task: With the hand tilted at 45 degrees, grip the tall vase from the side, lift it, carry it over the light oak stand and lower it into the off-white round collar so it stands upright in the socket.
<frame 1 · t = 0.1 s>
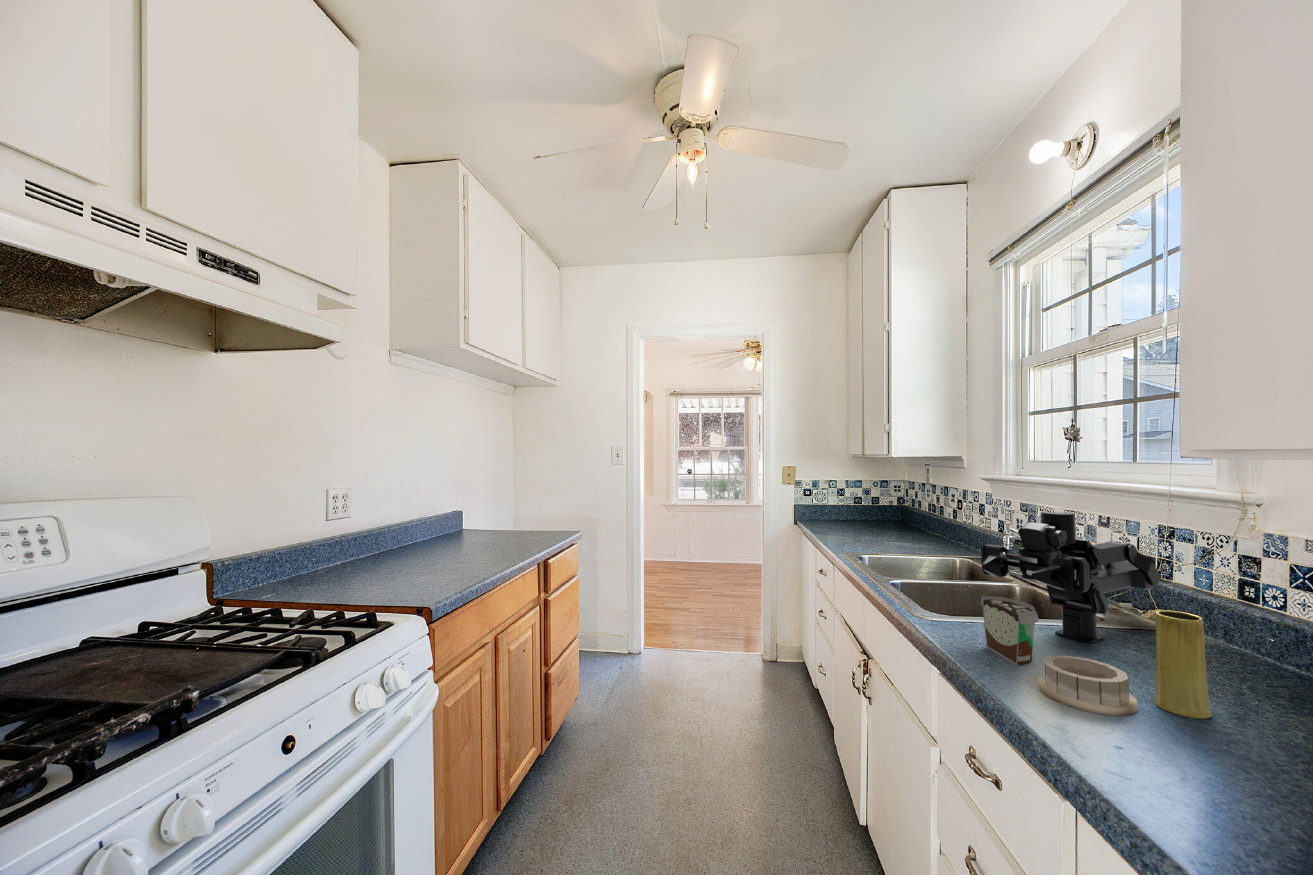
hand: (1006, 571, 100), 17 cm above the countertop, tool horizontal, fingers open, 9 cm apart
vase: (1182, 710, 79), on the countertop
food container: (1017, 656, 101), on the countertop
collar stand: (1085, 696, 84), on the countertop
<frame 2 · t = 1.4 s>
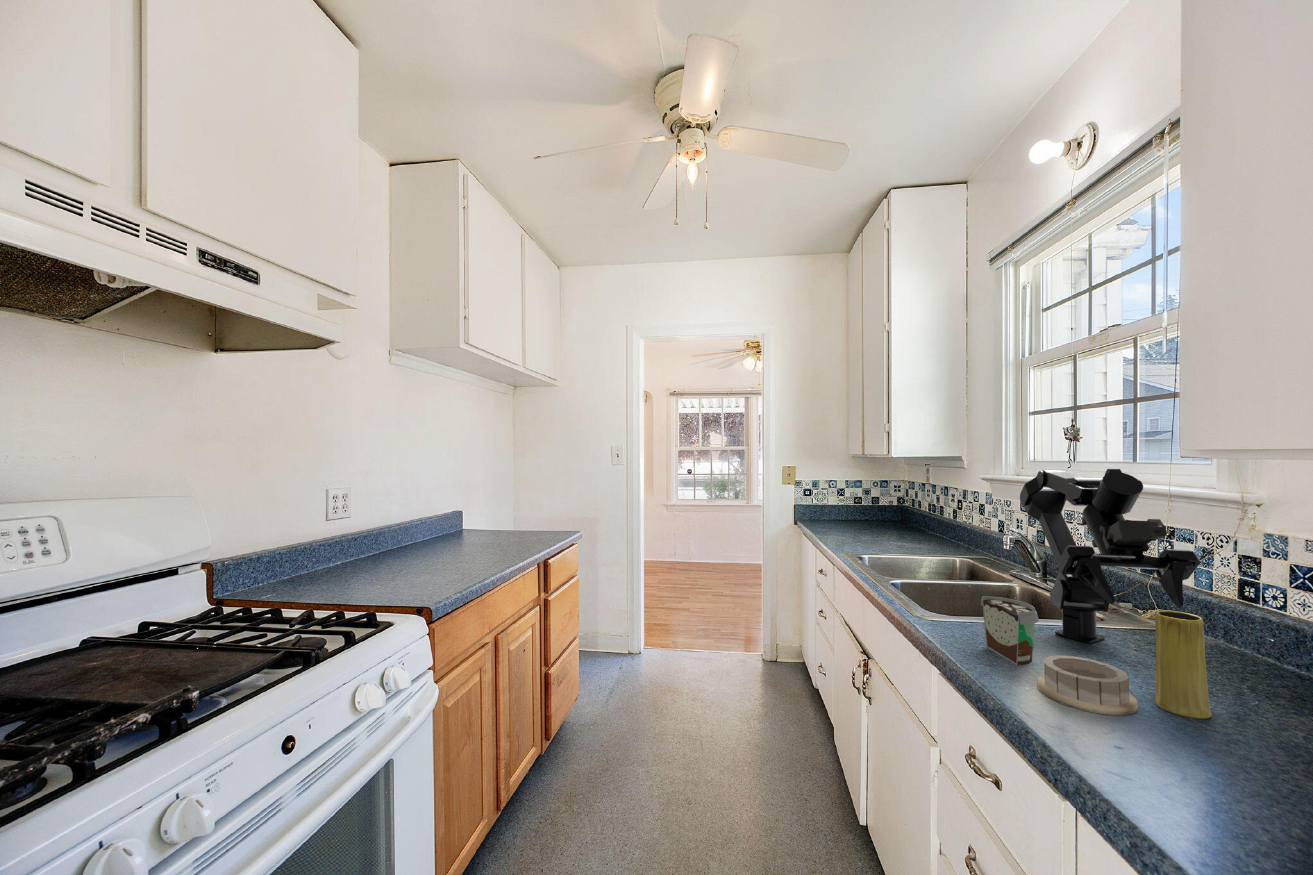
hand: (1146, 604, 88), 14 cm above the countertop, tool tilted 45°, fingers open, 9 cm apart
nothing on the countertop moved.
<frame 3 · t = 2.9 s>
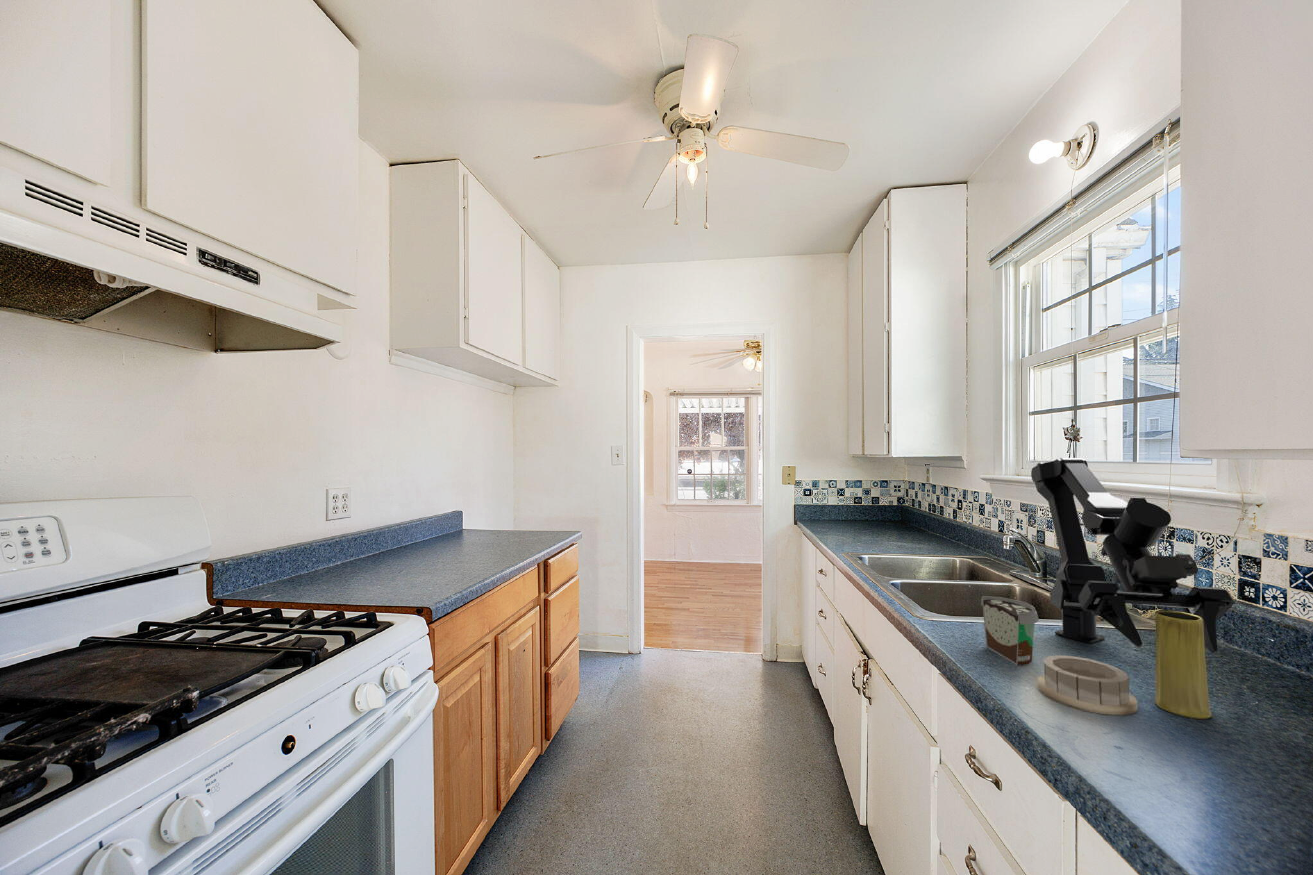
hand: (1176, 648, 81), 9 cm above the countertop, tool tilted 45°, fingers open, 9 cm apart
nothing on the countertop moved.
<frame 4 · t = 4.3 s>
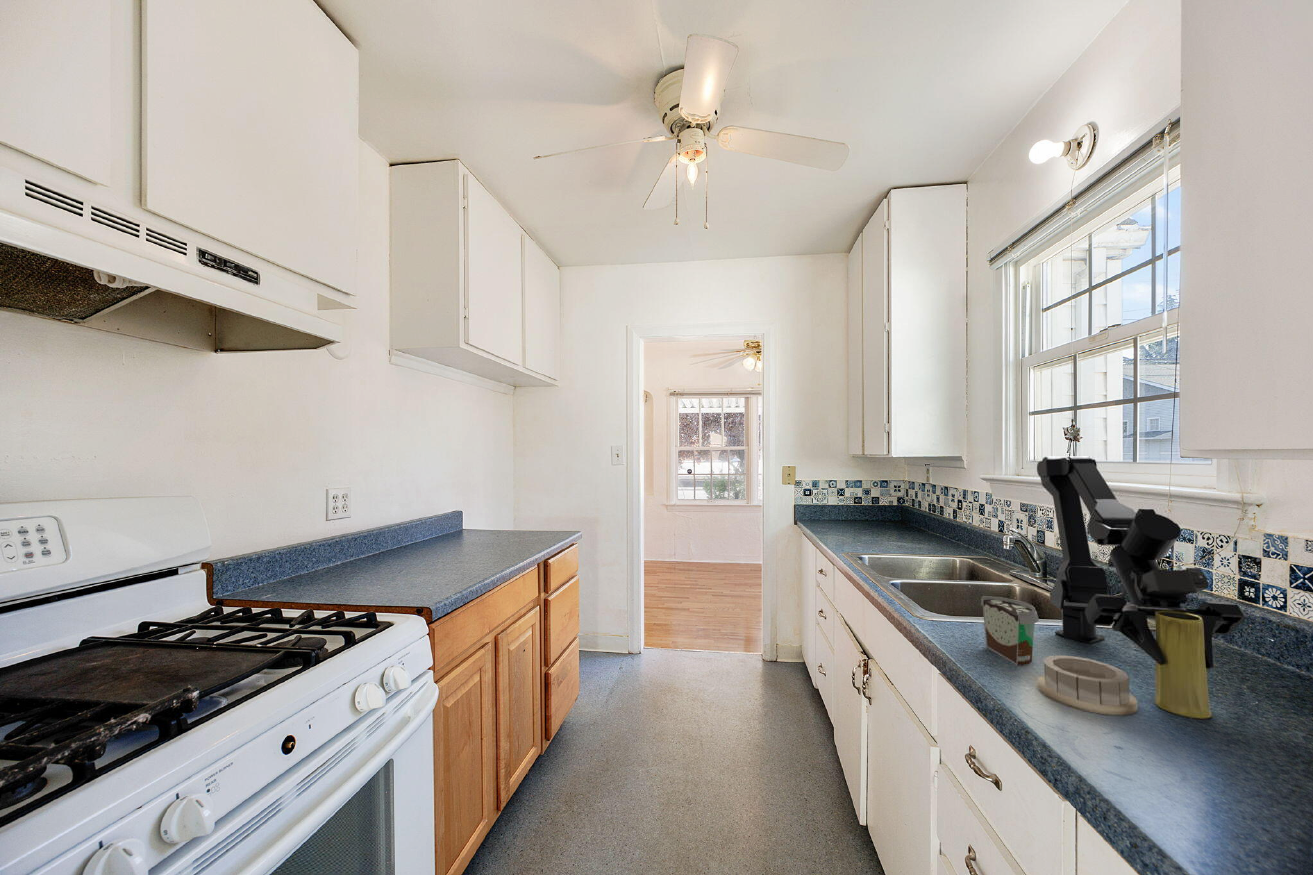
hand: (1186, 665, 78), 7 cm above the countertop, tool tilted 45°, fingers closed on vase, 5 cm apart
vase: (1182, 710, 79), on the countertop, touching gripper
everything else where it was.
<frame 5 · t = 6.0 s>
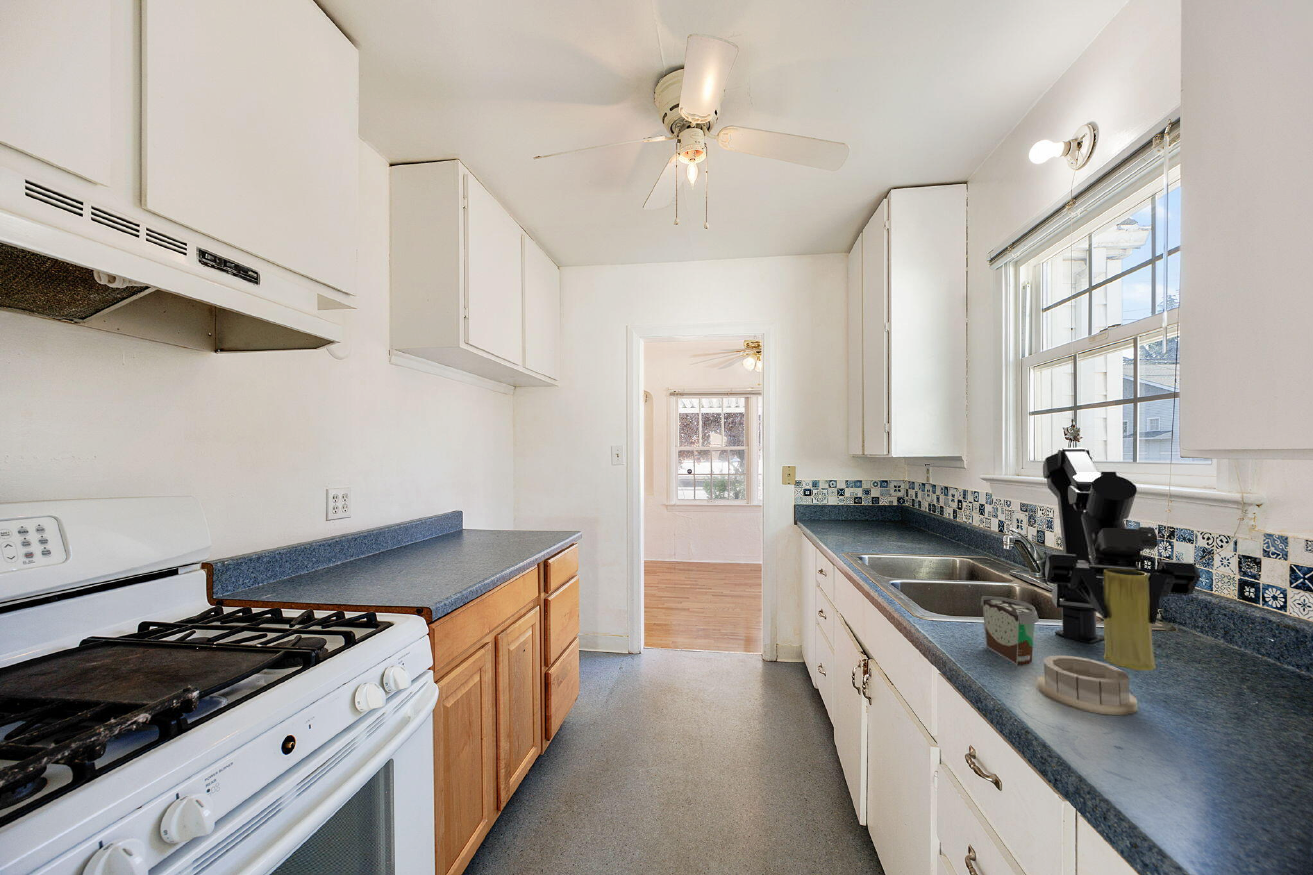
hand: (1129, 619, 81), 13 cm above the countertop, tool tilted 45°, fingers closed on vase, 5 cm apart
vase: (1129, 664, 82), point 6 cm above the countertop, touching gripper
everything else where it was.
when the fingers open (9 cm above the countertop, at t = 7.8 s): vase stays where it is, resting on collar stand.
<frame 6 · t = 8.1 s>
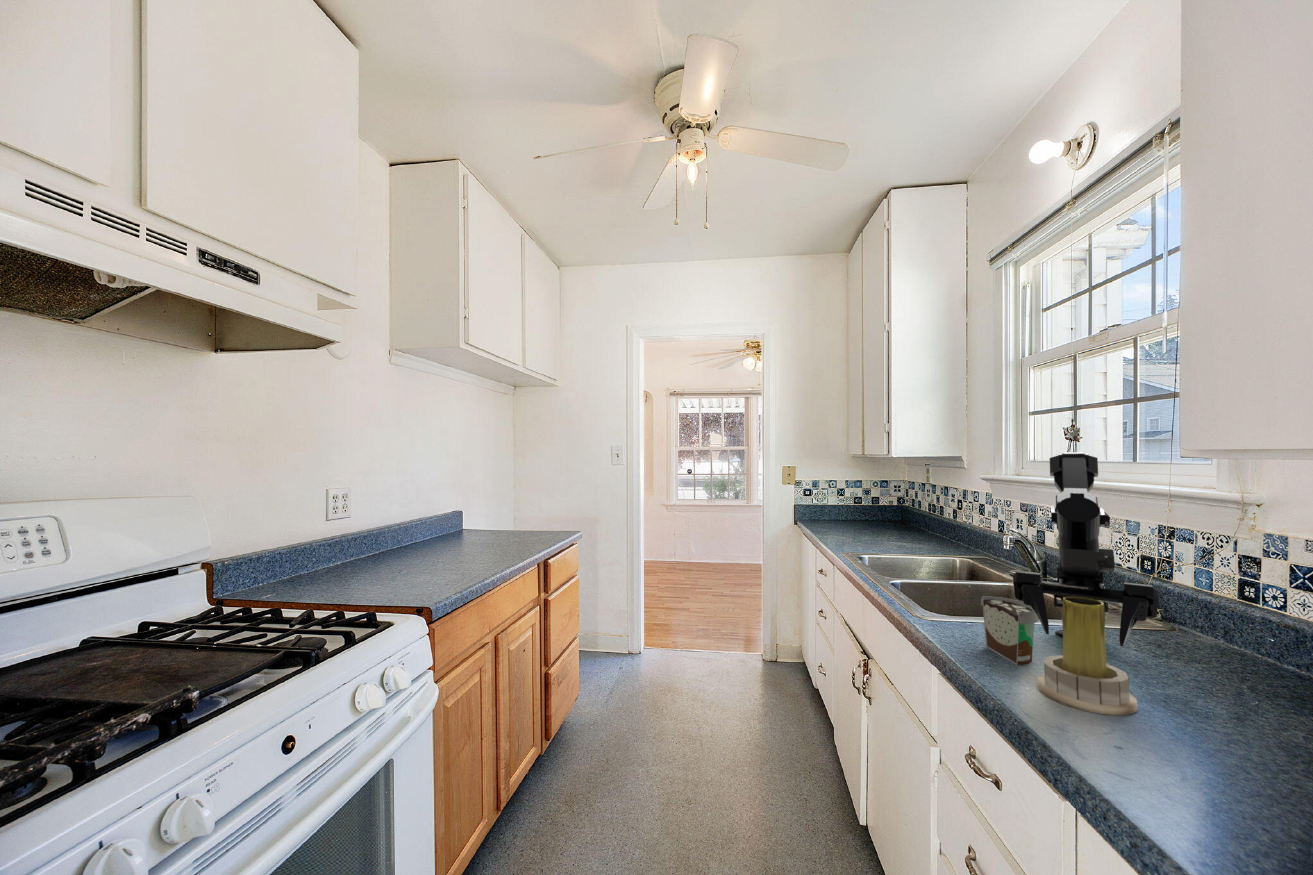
hand: (1083, 638, 83), 10 cm above the countertop, tool tilted 45°, fingers open, 9 cm apart
vase: (1085, 690, 84), point 1 cm above the countertop, touching collar stand
everything else where it was.
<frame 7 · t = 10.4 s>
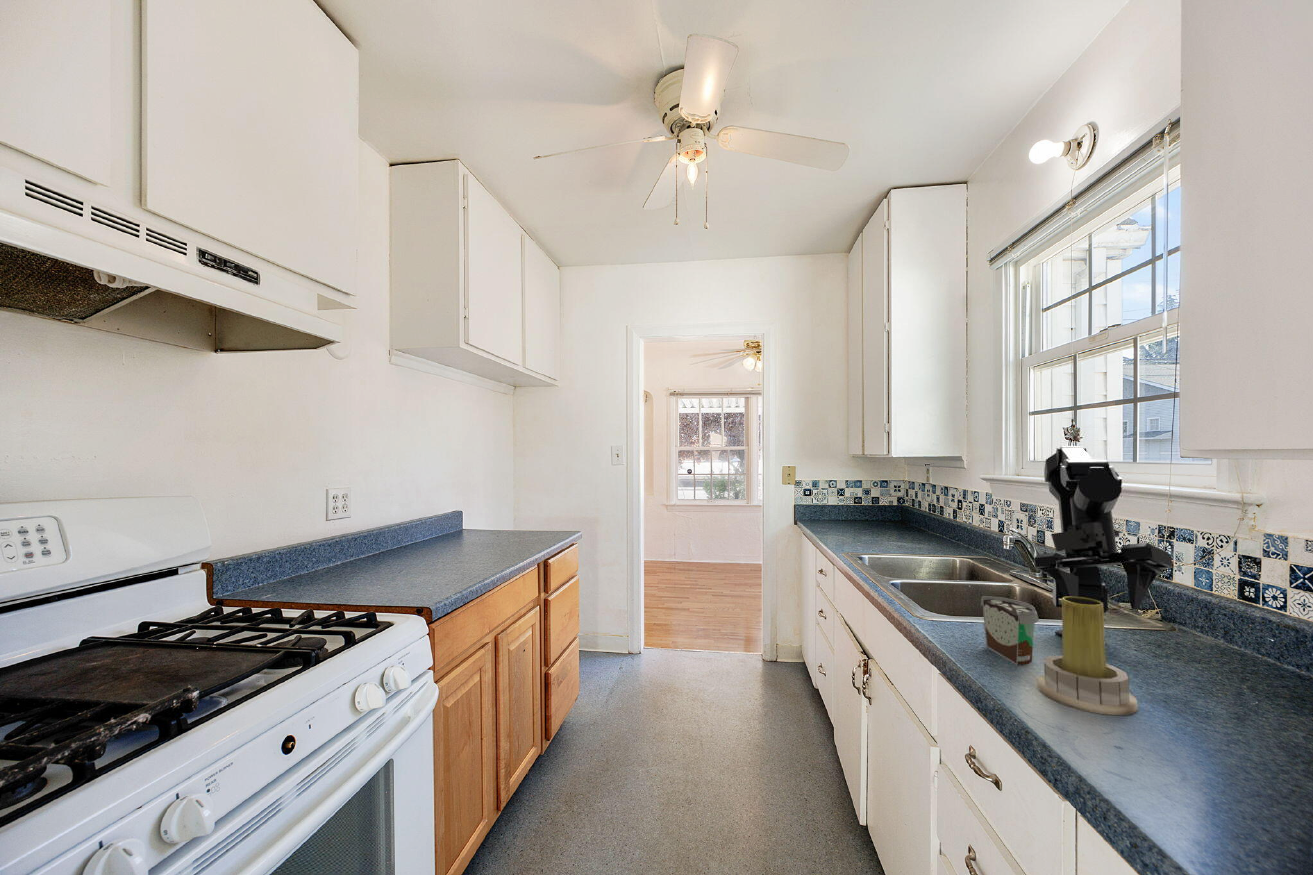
hand: (1103, 610, 89), 12 cm above the countertop, tool tilted 25°, fingers open, 9 cm apart
nothing on the countertop moved.
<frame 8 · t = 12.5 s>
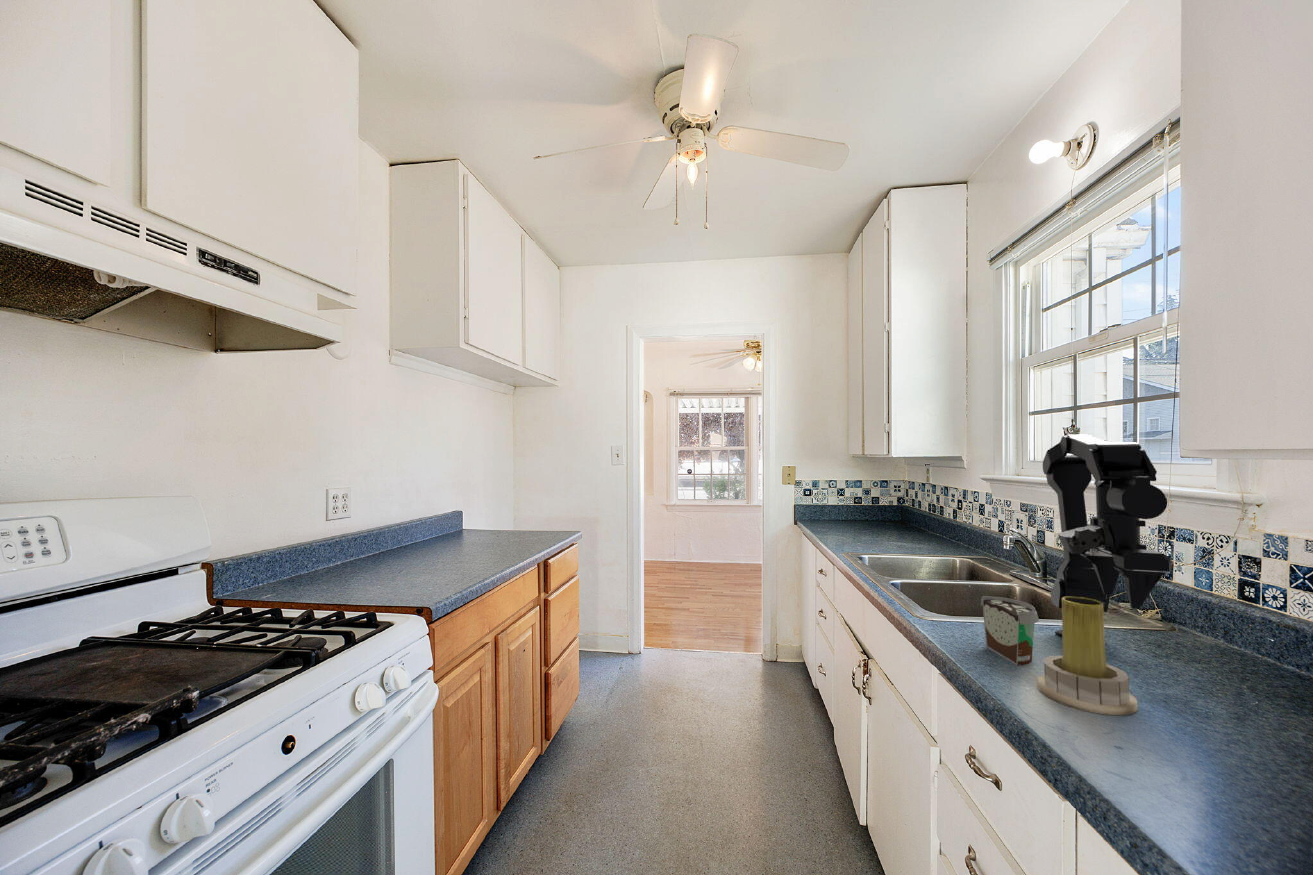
hand: (1120, 601, 92), 13 cm above the countertop, tool pointing down, fingers open, 9 cm apart
nothing on the countertop moved.
at the end: vase 0.2 cm off-centre on the collar stand, point 0.8 cm above the collar stand's base; vase tilted 0°; the gripper is holding nothing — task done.
